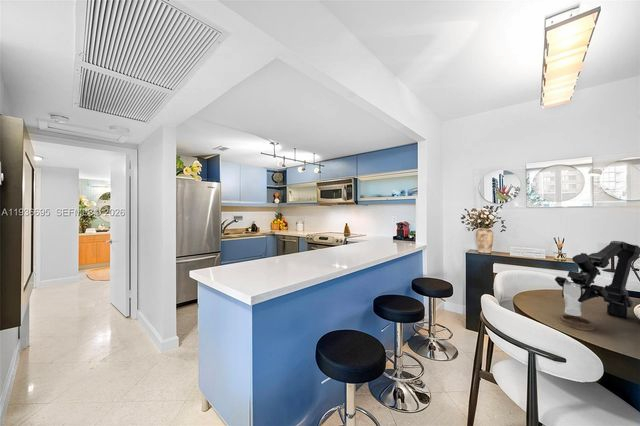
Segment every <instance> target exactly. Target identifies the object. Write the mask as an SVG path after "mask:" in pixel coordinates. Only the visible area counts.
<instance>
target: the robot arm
mask: <svg viewBox="0 0 640 426" xmlns="http://www.w3.org/2000/svg"><path fill="white" fill-rule="evenodd" d="M615 256H617V262H616V266H615V269H614V270H615V271H614V274H613V276H612V280H611V283H610V284H609V285H608V284H607V285H605V286H604V287H603V286H602V285H597V284H595V279H596V277H598V275H599V276H601V275H602V274H601V271H600V269H598V268H601V269H605V268H607V267H608V266H609V264H610V260H611V259H612V258H613V257H615ZM639 258H640V246H639V245H637V244H631V243H628V242H626V241H618V240H611V241H610V243H609V244H608V245H606V246H605V247H603V248H602V249H601V250H600V251H598V252H593V253H590V254H587V252H586V253H584V252H581V253H580V254H576V255H574V256H573V257H572V259H571V260H572V262H573V263H574V264H575V266H576V267H577V268H578V269H579V270H580V271H579V272H577V271H573V270H569V271H568V273H567V277H568V278H570V280H571V281H569V280H568V279H567V278H566V277H561V276H556V277H554V281H555V282H556V283H557V285H558V286H559V287H562V288H561V289H562V293H561V296H562V298H564V294H563V289H564V283H576V284H580V285H582V286H583V290H584V291H583V295H582V297H581V298H580V300H579V302H582V303H583V302H586V301H588V300H591V299H593V298H599V297H600V298H603V302H606V303H608V304H606V313H607V314H608V316H612V317H618V318H621V319H628V308H632V307H633V301H632V300H631V298H630V296H629V291H628V290H627V289H626V286H627V283H628V278H629V275H630V271H631V268H632V264H633V262H634V261H636V260H637V259H639Z"/></svg>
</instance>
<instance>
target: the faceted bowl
mask: <svg viewBox="0 0 640 426" xmlns="http://www.w3.org/2000/svg"><path fill="white" fill-rule="evenodd" d="M558 322H559V323H560V324H562V325H563V326H567V327H569V328H572V329H575V328H576V330H580V329H581V331H591V332H592V331H594V330H595V326H594V322H593V321H591V320H590V319H588V318H585V317H582V316H580V317H578V316H572V315H568V314H566V313H564V314H559V318H558Z"/></svg>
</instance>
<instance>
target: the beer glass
mask: <svg viewBox="0 0 640 426" xmlns="http://www.w3.org/2000/svg"><path fill="white" fill-rule="evenodd" d="M562 290H563V294H564V297H563V299H564V304H565V308H564V312H563V313H564V314H566V315H572V316H578V317H582V315H583V314H582V309H581V307H582V303H583V302H579V300H580V298H581V297H582V295H583V294H584V289H583V286H582V285H580V284H576V283H564V289H563V288H562Z"/></svg>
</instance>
